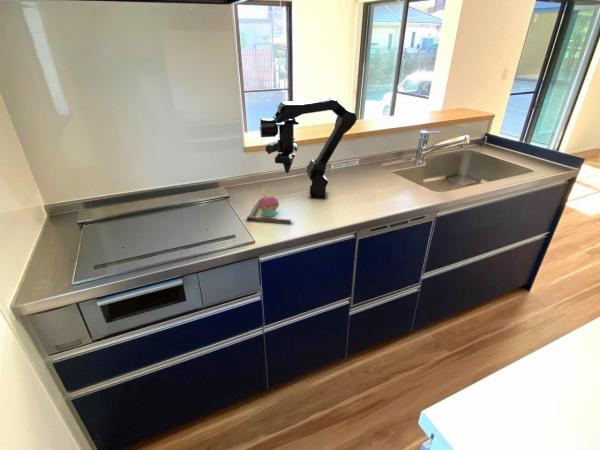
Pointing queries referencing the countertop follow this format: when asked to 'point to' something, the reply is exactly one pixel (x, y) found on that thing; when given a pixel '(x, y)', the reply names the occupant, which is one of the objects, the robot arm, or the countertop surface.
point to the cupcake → (268, 205)
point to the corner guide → (262, 219)
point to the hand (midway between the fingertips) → (287, 172)
